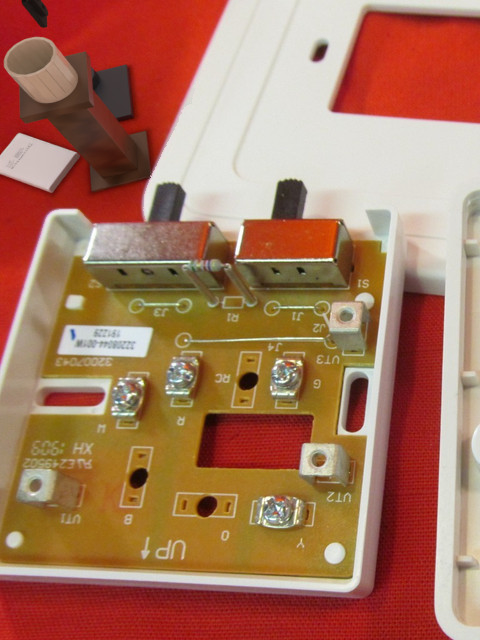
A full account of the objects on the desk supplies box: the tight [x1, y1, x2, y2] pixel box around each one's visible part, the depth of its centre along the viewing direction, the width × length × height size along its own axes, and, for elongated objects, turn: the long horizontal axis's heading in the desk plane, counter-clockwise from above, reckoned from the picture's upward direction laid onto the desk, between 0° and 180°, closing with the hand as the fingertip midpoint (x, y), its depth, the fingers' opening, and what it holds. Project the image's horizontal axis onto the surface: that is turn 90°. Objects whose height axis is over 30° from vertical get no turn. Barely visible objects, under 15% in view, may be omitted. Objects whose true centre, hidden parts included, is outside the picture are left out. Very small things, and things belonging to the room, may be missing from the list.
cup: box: [3, 36, 78, 103], centre depth 98 cm, size 7×7×5 cm
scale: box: [91, 64, 135, 123], centre depth 121 cm, size 11×13×3 cm
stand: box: [18, 50, 153, 193], centre depth 108 cm, size 10×10×18 cm
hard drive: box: [0, 132, 81, 194], centre depth 117 cm, size 2×8×12 cm
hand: (8, 29), depth 91 cm, fingers open, 9 cm apart
